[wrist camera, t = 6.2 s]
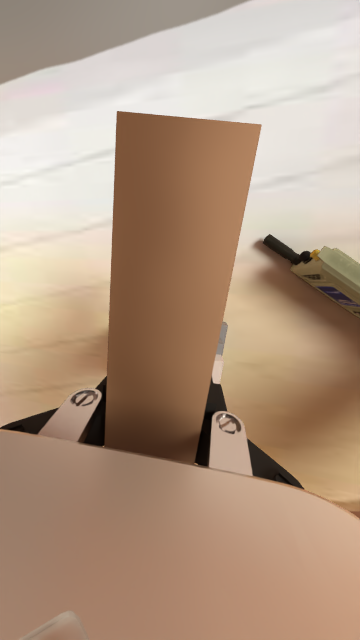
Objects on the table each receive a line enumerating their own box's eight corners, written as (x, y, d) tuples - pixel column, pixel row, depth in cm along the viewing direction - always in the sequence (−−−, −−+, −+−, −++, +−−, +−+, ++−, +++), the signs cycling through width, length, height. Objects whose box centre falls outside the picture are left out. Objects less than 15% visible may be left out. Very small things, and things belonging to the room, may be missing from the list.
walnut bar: (223, 211, 9) (261, 124, 4) (176, 484, 14) (165, 607, 9) (160, 203, 10) (116, 111, 4) (134, 476, 14) (98, 592, 9)
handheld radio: (388, 343, 27) (254, 251, 25) (406, 325, 26) (268, 230, 25) (453, 362, 20) (276, 240, 19) (478, 339, 19) (296, 210, 18)
